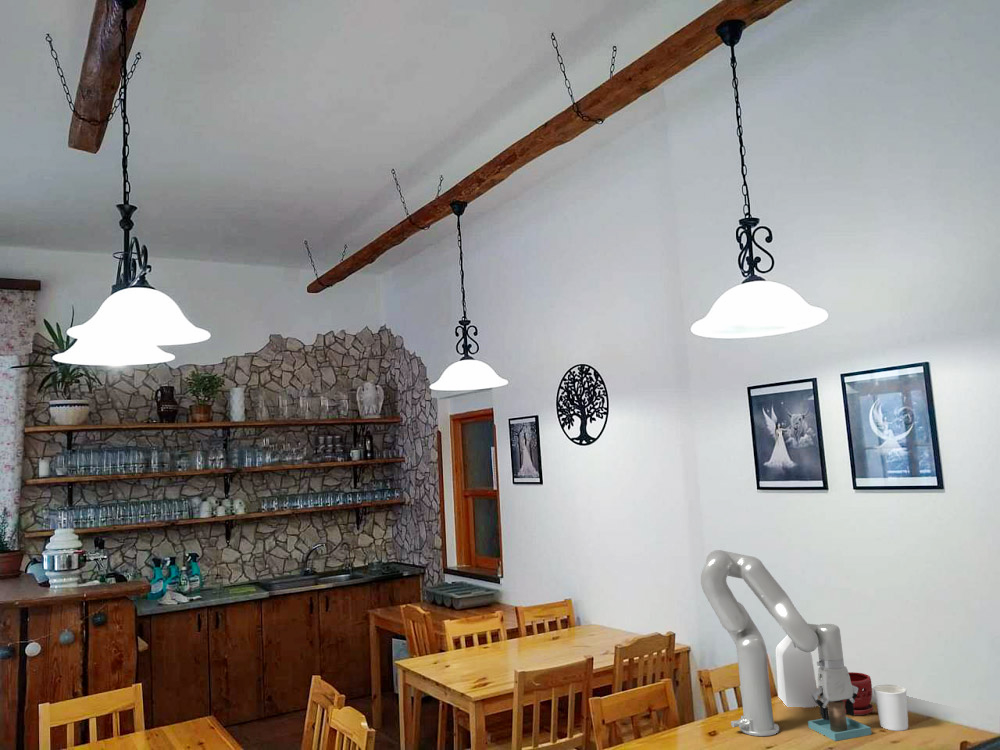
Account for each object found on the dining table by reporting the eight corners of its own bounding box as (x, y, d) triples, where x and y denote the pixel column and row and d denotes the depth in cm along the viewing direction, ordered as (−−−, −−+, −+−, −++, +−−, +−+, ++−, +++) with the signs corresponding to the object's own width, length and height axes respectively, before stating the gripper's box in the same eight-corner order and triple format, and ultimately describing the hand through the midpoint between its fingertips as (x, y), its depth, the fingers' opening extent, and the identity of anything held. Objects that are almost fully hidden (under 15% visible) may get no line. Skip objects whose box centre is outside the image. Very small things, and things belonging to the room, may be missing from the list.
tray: (835, 741, 247) (834, 733, 247) (808, 728, 260) (807, 721, 260) (871, 734, 250) (870, 727, 251) (843, 721, 263) (842, 715, 264)
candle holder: (880, 720, 263) (876, 683, 264) (913, 723, 257) (908, 686, 258) (875, 729, 255) (870, 691, 256) (908, 733, 249) (903, 694, 250)
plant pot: (866, 704, 279) (862, 670, 280) (881, 716, 266) (876, 680, 267) (829, 706, 280) (825, 671, 281) (841, 718, 267) (837, 682, 268)
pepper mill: (837, 733, 252) (833, 701, 253) (827, 728, 257) (823, 697, 258) (851, 730, 253) (847, 699, 255) (840, 725, 258) (836, 695, 260)
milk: (778, 698, 293) (770, 627, 296) (809, 696, 292) (801, 625, 295) (786, 708, 281) (778, 634, 284) (819, 706, 280) (811, 632, 283)
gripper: (816, 669, 252) (822, 724, 250) (861, 662, 256) (868, 716, 254) (801, 664, 259) (807, 717, 257) (846, 657, 263) (852, 709, 261)
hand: (837, 717), depth 256 cm, fingers open, 9 cm apart
